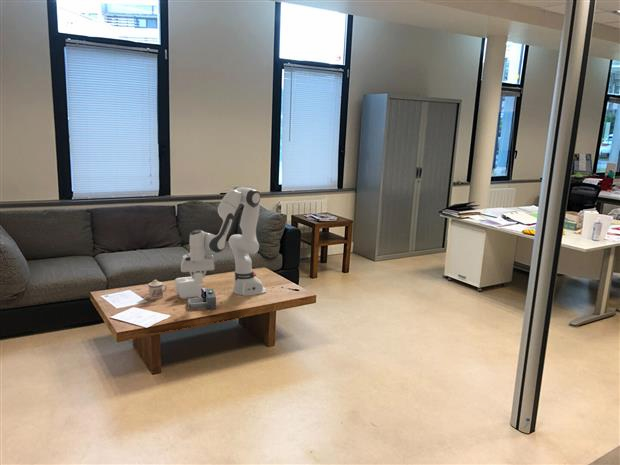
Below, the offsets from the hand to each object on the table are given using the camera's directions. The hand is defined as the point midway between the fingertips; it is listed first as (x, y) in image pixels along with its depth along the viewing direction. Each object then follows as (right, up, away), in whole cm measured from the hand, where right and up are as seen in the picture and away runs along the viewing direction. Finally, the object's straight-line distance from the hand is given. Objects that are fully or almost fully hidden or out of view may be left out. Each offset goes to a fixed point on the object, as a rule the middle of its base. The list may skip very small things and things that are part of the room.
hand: (198, 277), depth 302 cm
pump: (0, -3, +1) cm, 3 cm away
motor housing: (+1, -18, +5) cm, 19 cm away
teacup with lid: (-30, -14, +17) cm, 38 cm away
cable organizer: (-11, -14, +21) cm, 28 cm away
